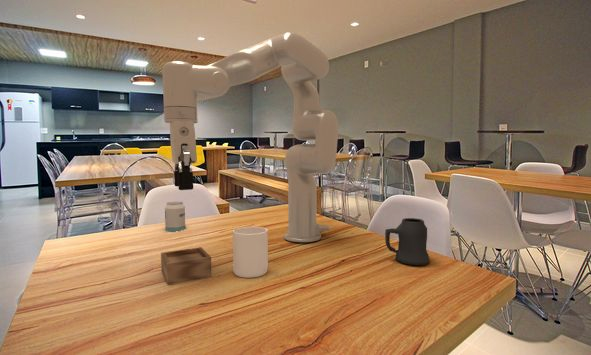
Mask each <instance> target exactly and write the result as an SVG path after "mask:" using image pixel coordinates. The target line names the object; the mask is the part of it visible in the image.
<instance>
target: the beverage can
mask: <svg viewBox="0 0 591 355" xmlns="http://www.w3.org/2000/svg"><path fill="white" fill-rule="evenodd" d="M164 222H165V224H164V226H165V228H164V229H165V231H166V232H168V233H176V231H178V232H182V231H185V230H186V207H185V204H184V203H183V201H170V202H166V205H165V207H164ZM184 229H185V230H184ZM181 230H182V231H181Z"/></svg>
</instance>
